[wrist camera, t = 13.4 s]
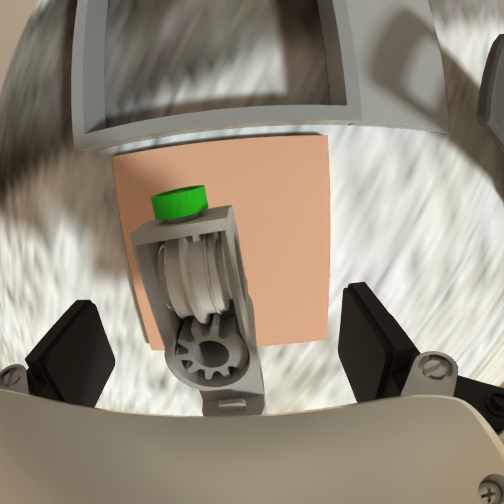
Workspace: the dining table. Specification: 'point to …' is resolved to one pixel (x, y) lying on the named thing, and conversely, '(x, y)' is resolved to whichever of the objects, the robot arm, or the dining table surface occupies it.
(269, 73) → the dining table surface
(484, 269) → the dining table surface
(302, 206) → the rubber mat
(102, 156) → the dining table surface
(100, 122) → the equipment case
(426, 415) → the robot arm
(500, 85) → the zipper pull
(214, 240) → the mechanical component
